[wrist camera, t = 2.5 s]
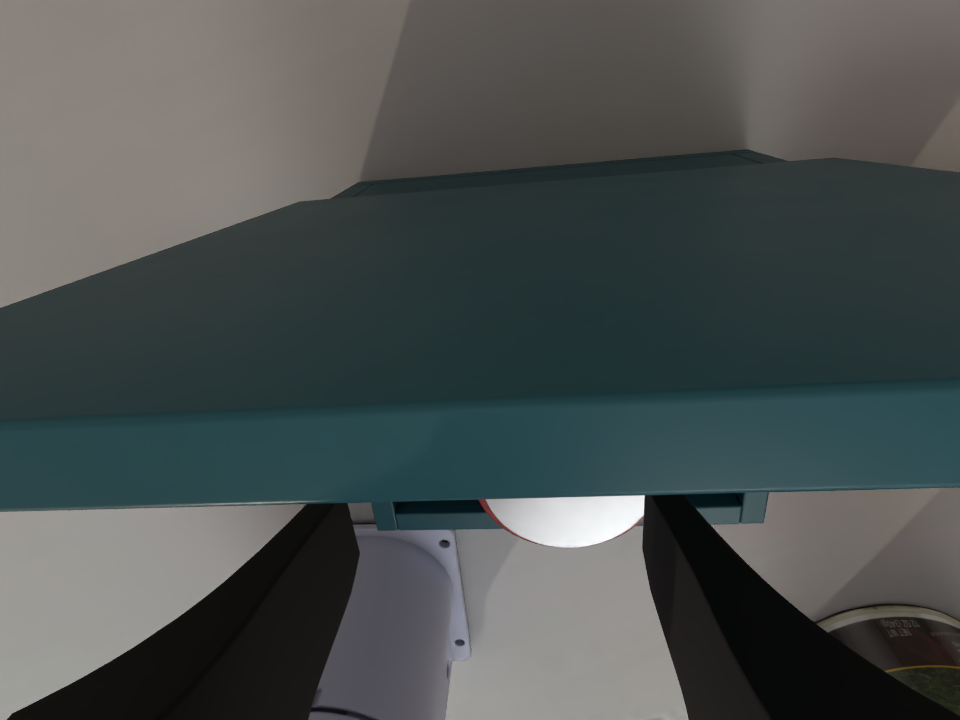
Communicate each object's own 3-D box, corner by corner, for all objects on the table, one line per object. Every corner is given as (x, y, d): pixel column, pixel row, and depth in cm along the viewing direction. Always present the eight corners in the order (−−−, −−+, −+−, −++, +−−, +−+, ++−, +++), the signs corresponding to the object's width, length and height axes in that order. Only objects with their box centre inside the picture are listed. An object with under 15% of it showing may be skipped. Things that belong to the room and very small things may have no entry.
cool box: (716, 436, 24) (764, 524, 19) (404, 447, 25) (376, 531, 20) (748, 149, 19) (824, 170, 14) (356, 182, 20) (305, 211, 15)
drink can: (620, 406, 23) (665, 554, 15) (492, 411, 23) (478, 557, 16) (622, 283, 20) (677, 390, 13) (481, 292, 21) (459, 400, 14)
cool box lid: (2117, 462, 3) (2296, 324, 2) (-313, 523, 4) (-377, 438, 4) (830, 187, 14) (835, 157, 14) (303, 227, 15) (298, 201, 15)
